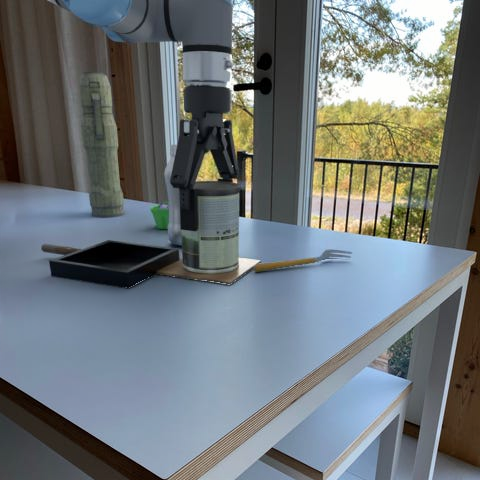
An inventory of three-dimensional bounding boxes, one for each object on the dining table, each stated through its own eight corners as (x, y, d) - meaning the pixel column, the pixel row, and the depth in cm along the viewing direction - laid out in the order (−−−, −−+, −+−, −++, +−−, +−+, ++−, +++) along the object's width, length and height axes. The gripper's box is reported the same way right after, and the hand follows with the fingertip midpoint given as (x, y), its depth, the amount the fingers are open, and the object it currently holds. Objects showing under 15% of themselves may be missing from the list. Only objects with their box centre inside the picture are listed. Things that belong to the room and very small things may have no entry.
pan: (10, 269, 84) (7, 253, 83) (73, 248, 98) (71, 234, 97) (128, 288, 75) (127, 271, 74) (179, 262, 89) (179, 248, 87)
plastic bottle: (205, 243, 102) (202, 144, 94) (185, 250, 97) (180, 146, 89) (182, 239, 105) (178, 143, 97) (161, 246, 100) (155, 145, 92)
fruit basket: (150, 229, 114) (147, 181, 110) (162, 222, 122) (159, 177, 118) (196, 232, 112) (194, 182, 108) (205, 224, 120) (204, 178, 116)
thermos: (94, 219, 125) (77, 70, 111) (89, 211, 135) (73, 73, 121) (128, 217, 128) (115, 71, 114) (120, 209, 138) (108, 75, 124)
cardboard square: (156, 274, 82) (156, 271, 82) (195, 255, 94) (195, 252, 93) (230, 285, 77) (230, 282, 76) (261, 263, 89) (261, 260, 88)
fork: (256, 265, 82) (353, 251, 89) (252, 260, 83) (347, 246, 90) (255, 278, 83) (350, 262, 90) (251, 272, 84) (344, 258, 92)
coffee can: (171, 270, 82) (167, 186, 76) (196, 255, 91) (194, 179, 85) (227, 277, 79) (227, 190, 73) (247, 260, 88) (248, 182, 82)
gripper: (189, 79, 62) (192, 240, 70) (259, 90, 83) (255, 212, 91) (141, 80, 64) (149, 234, 73) (220, 90, 85) (219, 209, 94)
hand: (208, 222), depth 82 cm, fingers open, 13 cm apart
